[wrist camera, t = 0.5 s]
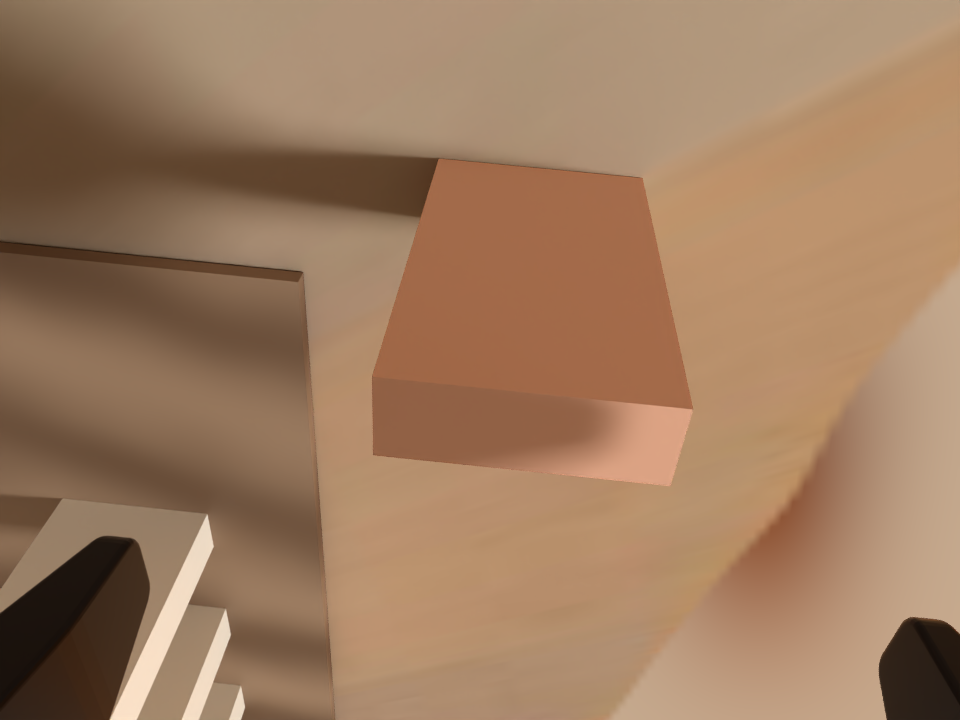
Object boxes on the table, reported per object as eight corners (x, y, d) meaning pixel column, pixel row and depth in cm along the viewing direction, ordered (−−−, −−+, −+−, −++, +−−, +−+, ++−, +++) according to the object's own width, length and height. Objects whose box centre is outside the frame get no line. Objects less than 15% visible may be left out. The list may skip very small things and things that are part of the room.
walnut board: (341, 808, 39) (339, 819, 38) (97, 781, 39) (93, 791, 38) (303, 272, 21) (298, 282, 20) (-146, 227, 21) (-160, 236, 21)
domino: (213, 546, 27) (97, 808, 20) (74, 531, 27) (-90, 787, 20) (207, 513, 26) (82, 777, 19) (62, 498, 26) (-113, 755, 19)
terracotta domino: (630, 238, 20) (670, 486, 13) (436, 220, 20) (372, 454, 13) (642, 178, 19) (693, 409, 12) (438, 158, 19) (372, 376, 12)
